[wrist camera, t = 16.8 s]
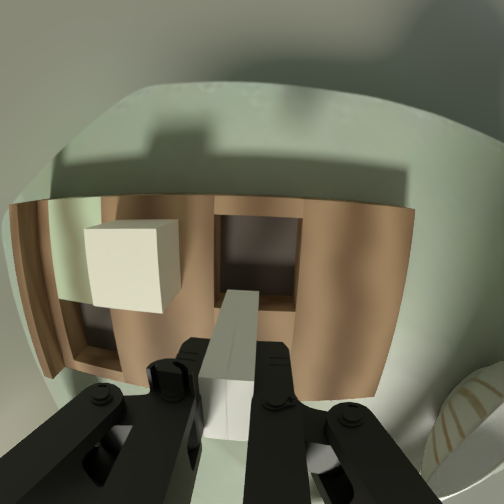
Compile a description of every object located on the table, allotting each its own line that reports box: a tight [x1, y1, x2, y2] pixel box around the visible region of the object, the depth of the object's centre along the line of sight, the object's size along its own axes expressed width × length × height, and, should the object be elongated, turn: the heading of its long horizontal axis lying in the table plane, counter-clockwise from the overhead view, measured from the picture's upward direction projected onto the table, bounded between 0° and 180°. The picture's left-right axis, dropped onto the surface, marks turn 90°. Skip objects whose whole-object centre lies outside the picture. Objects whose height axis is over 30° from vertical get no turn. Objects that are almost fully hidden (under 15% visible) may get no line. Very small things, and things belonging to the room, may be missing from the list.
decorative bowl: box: [421, 360, 504, 498], centre depth 25 cm, size 27×27×12 cm
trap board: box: [9, 194, 415, 401], centre depth 25 cm, size 38×20×7 cm, turn 88°
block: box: [84, 219, 181, 314], centre depth 21 cm, size 6×6×5 cm
